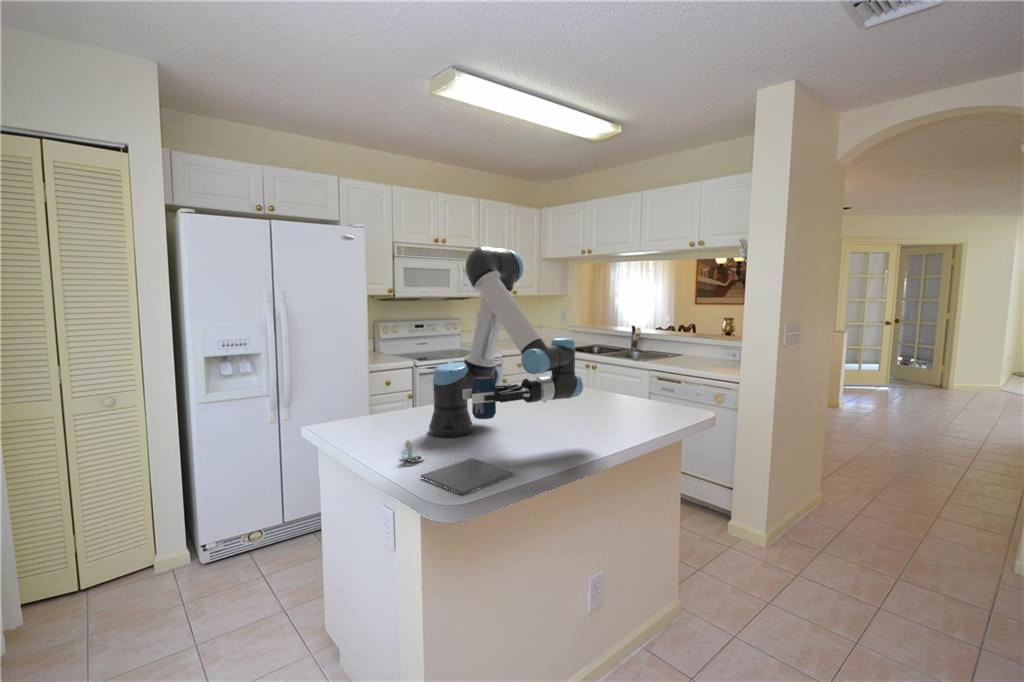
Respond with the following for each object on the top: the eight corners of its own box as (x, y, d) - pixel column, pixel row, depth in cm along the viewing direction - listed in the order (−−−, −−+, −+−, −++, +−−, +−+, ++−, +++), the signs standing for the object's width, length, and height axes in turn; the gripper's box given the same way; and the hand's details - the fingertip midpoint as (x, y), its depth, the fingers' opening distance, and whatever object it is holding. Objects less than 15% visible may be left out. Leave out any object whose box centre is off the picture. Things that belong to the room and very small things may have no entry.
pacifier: (419, 455, 147) (399, 458, 144) (419, 434, 146) (399, 437, 143) (427, 462, 141) (407, 465, 138) (428, 441, 140) (407, 443, 137)
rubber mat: (421, 478, 128) (421, 474, 127) (472, 461, 141) (472, 457, 141) (462, 495, 117) (462, 491, 117) (513, 475, 130) (513, 471, 130)
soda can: (494, 413, 150) (493, 374, 149) (497, 419, 143) (496, 378, 142) (471, 415, 149) (470, 375, 148) (473, 420, 142) (472, 379, 141)
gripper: (553, 407, 145) (481, 416, 135) (522, 396, 163) (456, 403, 153) (553, 382, 145) (480, 389, 134) (522, 373, 162) (456, 379, 152)
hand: (468, 396), depth 144 cm, fingers closed on soda can, 7 cm apart
